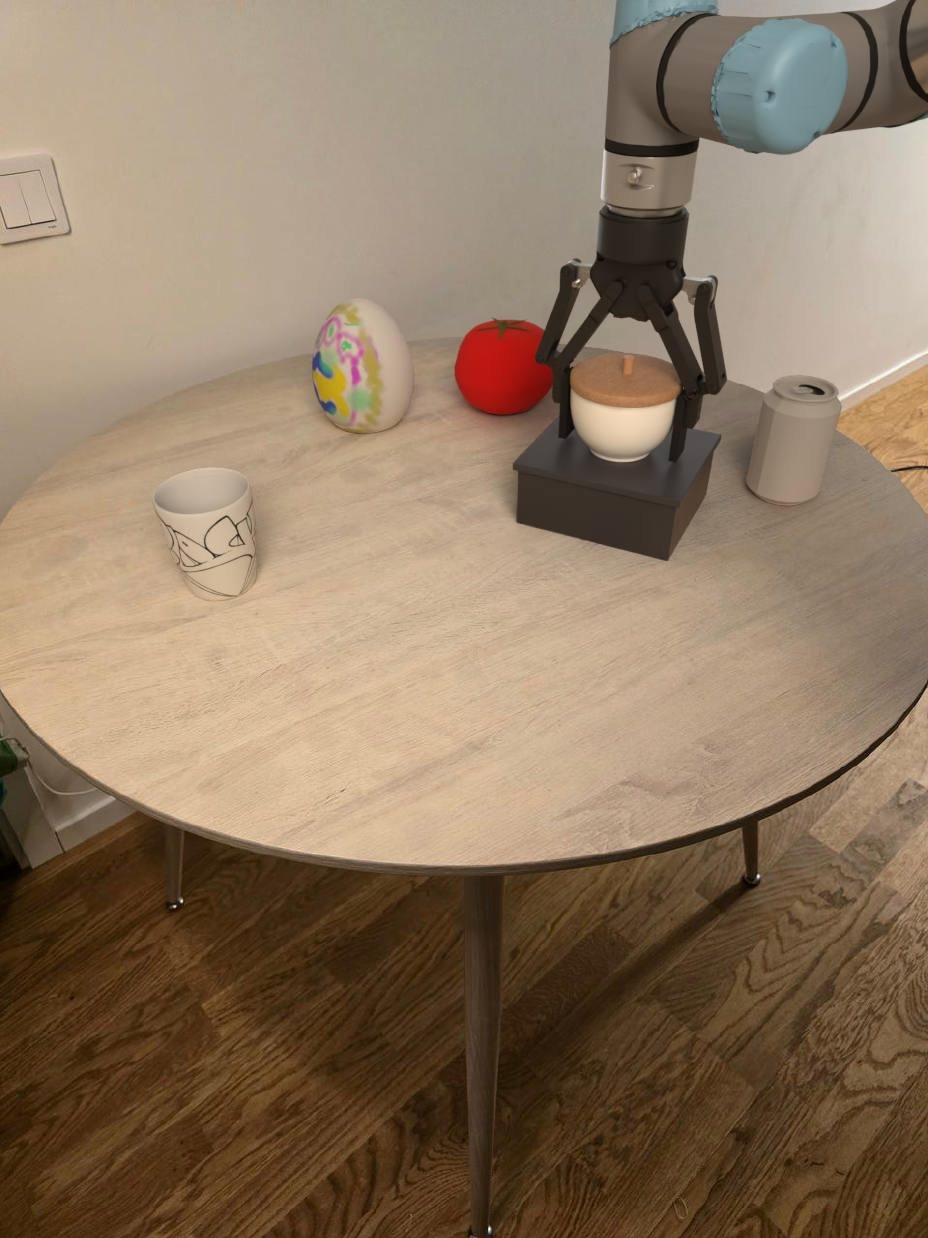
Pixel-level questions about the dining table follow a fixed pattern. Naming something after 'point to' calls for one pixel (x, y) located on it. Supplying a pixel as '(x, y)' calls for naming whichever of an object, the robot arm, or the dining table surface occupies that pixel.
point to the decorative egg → (362, 368)
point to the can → (793, 439)
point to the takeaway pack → (614, 491)
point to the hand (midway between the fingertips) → (620, 443)
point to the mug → (210, 530)
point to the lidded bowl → (623, 404)
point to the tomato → (502, 367)
